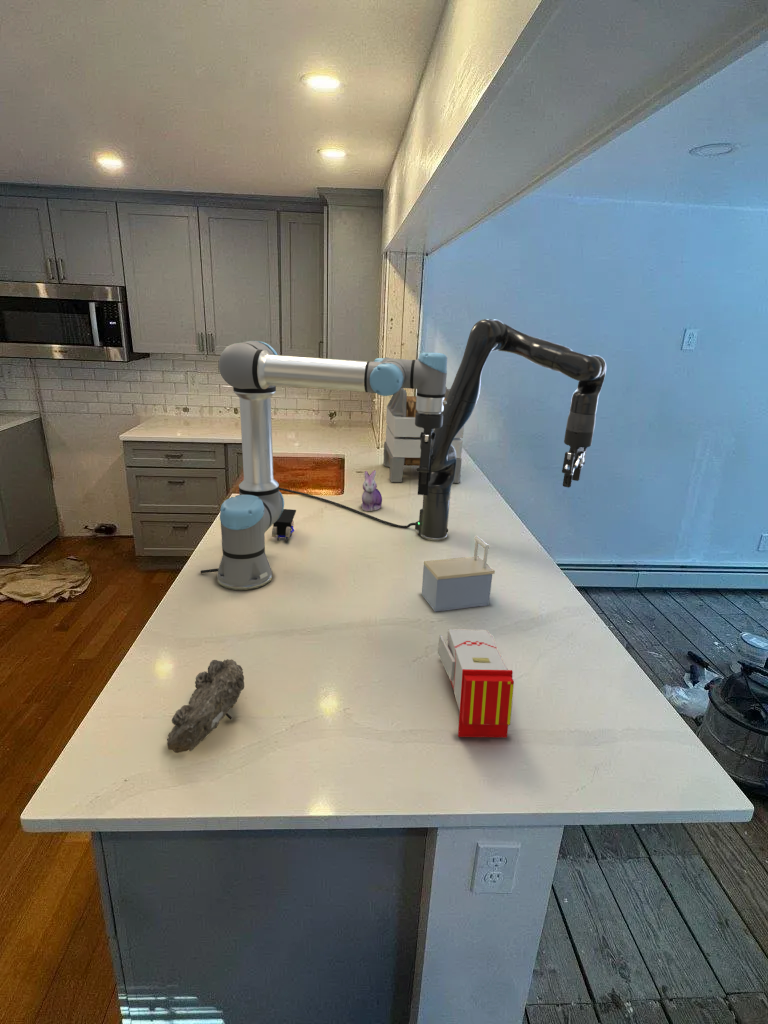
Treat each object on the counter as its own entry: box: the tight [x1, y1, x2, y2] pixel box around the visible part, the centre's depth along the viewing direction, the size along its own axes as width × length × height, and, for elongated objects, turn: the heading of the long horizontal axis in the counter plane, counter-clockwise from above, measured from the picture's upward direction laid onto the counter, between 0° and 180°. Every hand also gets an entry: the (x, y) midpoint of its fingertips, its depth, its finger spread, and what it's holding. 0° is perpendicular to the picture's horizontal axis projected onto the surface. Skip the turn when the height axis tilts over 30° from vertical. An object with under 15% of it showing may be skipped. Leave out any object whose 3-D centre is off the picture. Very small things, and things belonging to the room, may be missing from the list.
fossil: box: [166, 658, 245, 754], centre depth 106 cm, size 22×10×15 cm
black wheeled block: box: [271, 508, 297, 542], centre depth 193 cm, size 7×8×15 cm
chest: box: [421, 564, 493, 613], centre depth 155 cm, size 16×10×9 cm, turn 107°
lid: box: [423, 535, 496, 580], centre depth 152 cm, size 16×10×8 cm, turn 107°
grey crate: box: [383, 386, 465, 484], centre depth 268 cm, size 34×33×41 cm
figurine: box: [360, 469, 383, 512], centre depth 222 cm, size 9×10×15 cm
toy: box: [437, 628, 515, 738], centre depth 117 cm, size 12×13×30 cm
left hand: (424, 487), depth 160 cm, fingers open, 13 cm apart
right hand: (570, 483), depth 165 cm, fingers open, 8 cm apart
